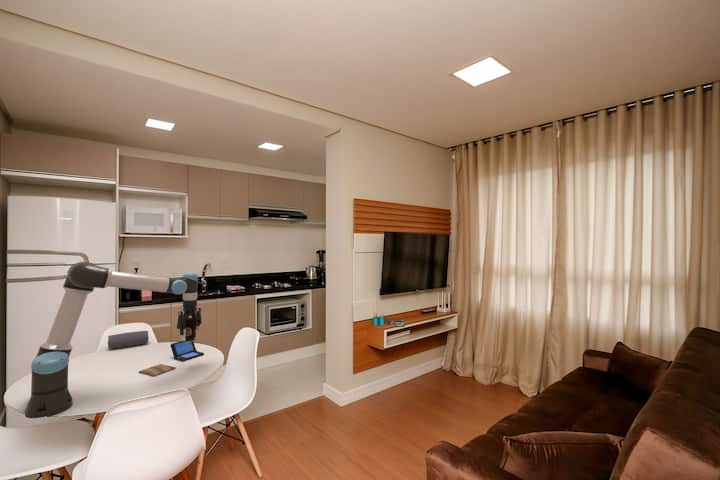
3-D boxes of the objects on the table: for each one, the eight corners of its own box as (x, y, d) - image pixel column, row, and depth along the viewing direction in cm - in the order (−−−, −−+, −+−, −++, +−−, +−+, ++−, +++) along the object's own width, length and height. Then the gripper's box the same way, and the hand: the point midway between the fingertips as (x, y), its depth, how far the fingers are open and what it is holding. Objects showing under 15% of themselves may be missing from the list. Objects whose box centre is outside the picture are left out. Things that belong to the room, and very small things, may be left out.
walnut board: (154, 376, 180) (154, 375, 180) (138, 372, 185) (138, 371, 185) (175, 368, 192) (175, 367, 192) (160, 365, 197) (160, 363, 197)
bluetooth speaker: (146, 342, 243) (146, 328, 243) (148, 345, 236) (148, 331, 236) (107, 348, 228) (108, 333, 228) (108, 351, 221) (108, 336, 221)
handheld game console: (182, 362, 203) (183, 347, 203) (169, 358, 209) (169, 344, 210) (205, 355, 217) (205, 340, 217) (191, 351, 223) (192, 338, 223)
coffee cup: (190, 343, 189) (190, 320, 189) (177, 342, 191) (177, 319, 191) (200, 339, 198) (200, 317, 198) (188, 338, 199) (188, 316, 199)
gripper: (179, 302, 184) (178, 344, 183) (209, 297, 203) (208, 335, 202) (169, 301, 187) (168, 342, 186) (200, 296, 206) (199, 333, 205)
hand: (189, 338), depth 194 cm, fingers closed on coffee cup, 7 cm apart
